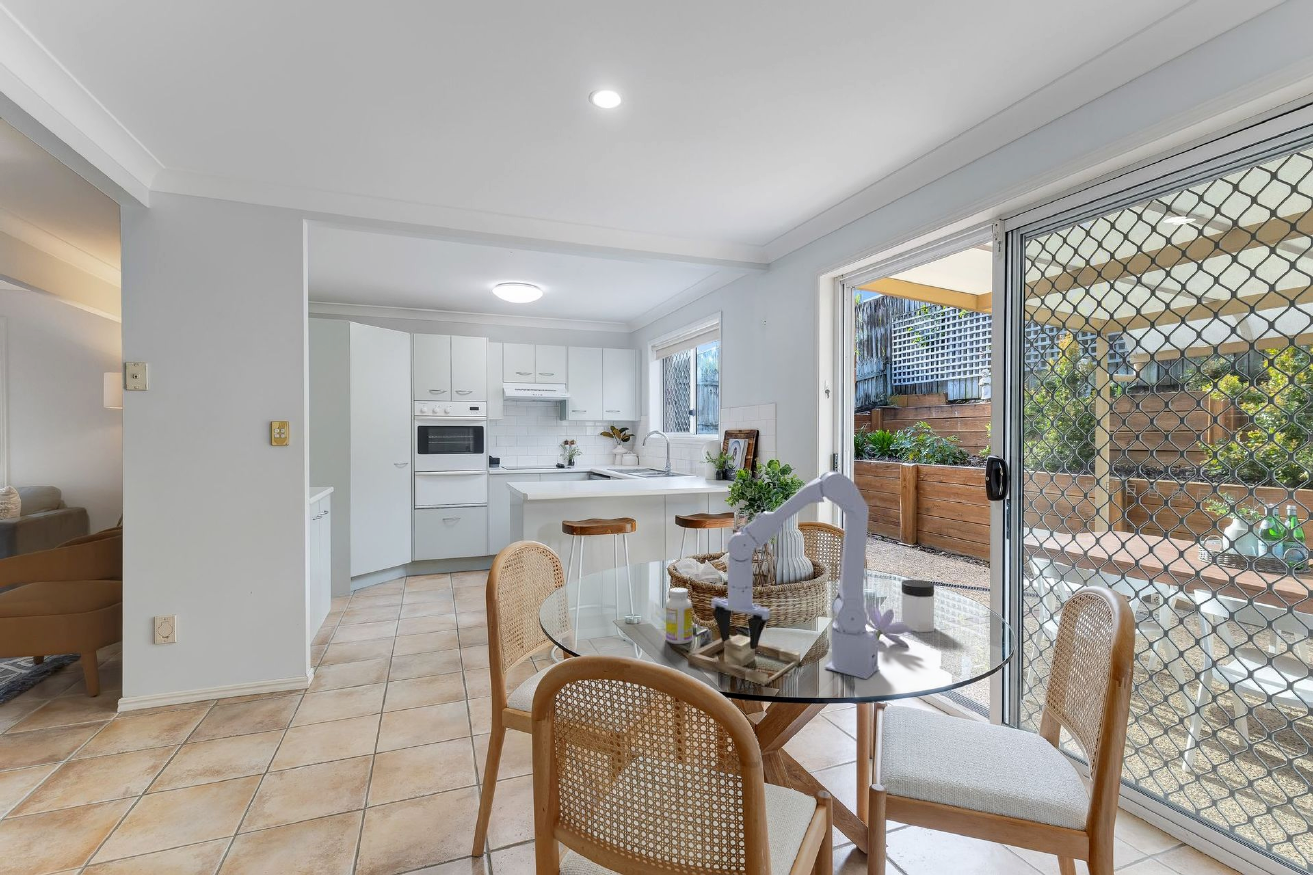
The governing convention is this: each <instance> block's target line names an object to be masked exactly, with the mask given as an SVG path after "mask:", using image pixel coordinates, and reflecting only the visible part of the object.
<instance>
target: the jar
mask: <svg viewBox="0 0 1313 875" xmlns="http://www.w3.org/2000/svg"><path fill="white" fill-rule="evenodd" d="M900 620H901V621H900V622H903V624H904V625H907V626H908V627H909V628H911V629H912V630H911V631H912V632H915V633H928V632H929V633H930V632H932V633H933V632H934V630H935V629H934V628H935V585H934V583H932V582H930V581H926V580H919V579H906V580H902V581H901V619H900ZM911 631H910V632H911Z"/></svg>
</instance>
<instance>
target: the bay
mask: <svg viewBox="0 0 1313 875" xmlns="http://www.w3.org/2000/svg"><path fill="white" fill-rule="evenodd" d="M734 636H735V635H731V634H729V639H730V638H732V637H734ZM724 643H725V641H722V639H721V637H720V638H718V639H715V640H714V641H712V643H710V644H708V645H706V646H701V647H700V648H699V649H696V650H694V651H692V652H690V653H688V655H687V660H688V661H687V663H688V664H690V665H693V666H696V667H700V668H703V669H706V670H709V669H712V670H711V671H713V670H715V671H714V672H716V671H719V672H721V673H720V674H722V673H727V674H729V675H734V676H736V677H738V678H737V679H739V678H742V679H745V680H749V681H752V682H756V683H759V684H763V685H765V684H767V683H768V684H770V683H771V682H773V681H774V680H776V679H777V678H779V677H781V675H784V674H785V673H786V672H787V671H789V670H790V669H792V668H794V667H795V666H796V665H798V664H800V663H801V652H797V651H794V650H793V651H792V650H789V649H786V648H781V647H778V646H775V645H771V644H770V645H769V644H766V643H762V642H758V647H757V648H755V652H760V653H762V654H761V655H763V654H766V655H765V656H767V655H768V656H767V657H770V656H772V657H771V658H775V659H778V660H781V661H786V662H789V664H788V665H787V666H785V667H784V668H782V669H781V670H779V671H777V672H776V673H775V674H773V675H771V676H770V677H769V674H768V673H764V672H761V671H757V670H753V669H750V668H746V667H745V666H744V667H740V666H737V665H733V664H730V663H727V662H724V660H723V661H722V660H720V659H716V658H712V657H711V656H713V655H714V653H715V652H717V653H718V651H719V650H720V649H722V648H723V647H724ZM722 650H723V649H722ZM719 652H720V651H719ZM712 654H713V655H712ZM715 654H716V653H715ZM719 672H718V673H719ZM729 675H728V676H729ZM742 679H741V680H742ZM745 680H744V681H745ZM772 680H773V681H772ZM749 681H748V682H749ZM752 682H751V683H752ZM769 682H770V683H769ZM768 684H767V685H768Z"/></svg>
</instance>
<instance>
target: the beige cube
mask: <svg viewBox="0 0 1313 875" xmlns="http://www.w3.org/2000/svg"><path fill="white" fill-rule="evenodd" d="M733 636H734V637H732V638H730V639H728V640H726V641H725V643H724V647H725V648H724V649H723V651H724V655H723V656H724V657H723V658H724V660H723V662H728V663H730V664H733V665H737V666H740V667H743V666H744V665H745V666H747V665H748V663H749V662H750V663H752V662H754V661H755V658H756V656H755V655H756V653H755V649H751V648H750V636H746V635H742V634H737V635H733ZM753 660H754V661H753ZM751 661H752V662H751ZM750 663H749V664H750ZM745 666H744V667H745Z"/></svg>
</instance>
